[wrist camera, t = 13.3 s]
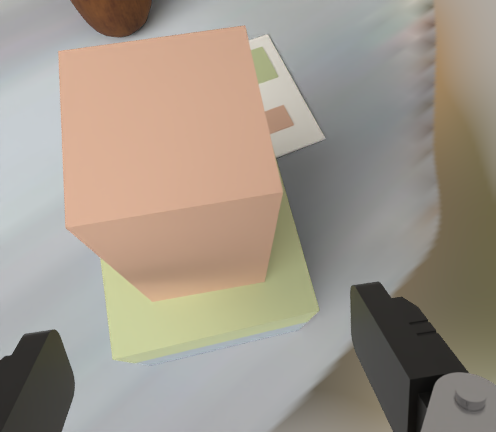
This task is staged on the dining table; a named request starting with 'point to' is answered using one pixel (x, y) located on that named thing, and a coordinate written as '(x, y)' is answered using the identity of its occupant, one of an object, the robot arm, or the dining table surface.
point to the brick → (170, 161)
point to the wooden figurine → (114, 15)
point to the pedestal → (213, 307)
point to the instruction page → (282, 101)
